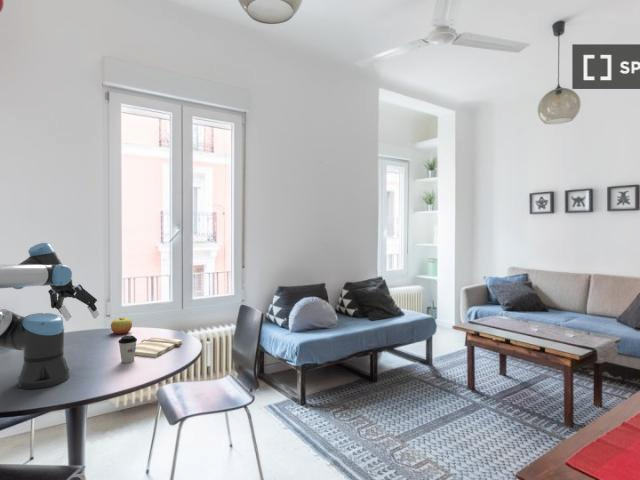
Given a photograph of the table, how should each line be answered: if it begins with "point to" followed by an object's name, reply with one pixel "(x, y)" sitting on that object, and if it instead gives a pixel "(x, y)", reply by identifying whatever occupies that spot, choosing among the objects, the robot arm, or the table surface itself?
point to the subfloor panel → (156, 346)
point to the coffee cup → (127, 348)
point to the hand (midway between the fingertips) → (82, 317)
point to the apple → (121, 325)
